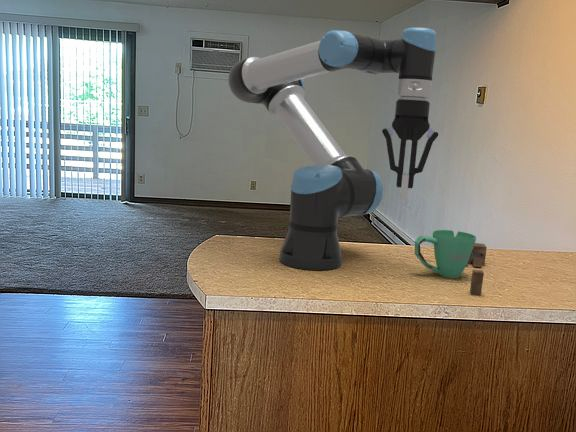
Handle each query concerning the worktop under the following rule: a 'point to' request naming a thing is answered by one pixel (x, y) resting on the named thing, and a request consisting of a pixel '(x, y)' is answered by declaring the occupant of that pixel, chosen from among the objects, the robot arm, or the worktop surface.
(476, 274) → the brown blocks
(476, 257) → the tie bar
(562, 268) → the worktop surface
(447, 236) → the mug
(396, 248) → the worktop surface
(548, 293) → the worktop surface
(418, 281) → the worktop surface
